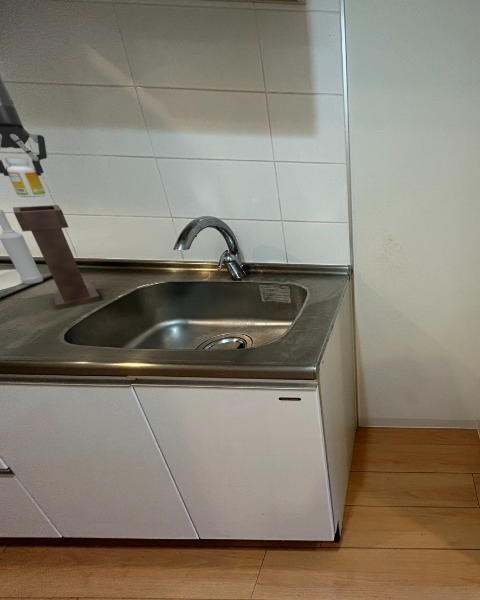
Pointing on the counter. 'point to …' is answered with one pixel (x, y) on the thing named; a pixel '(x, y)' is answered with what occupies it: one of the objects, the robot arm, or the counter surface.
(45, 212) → the holder
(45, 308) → the counter surface
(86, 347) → the counter surface
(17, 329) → the counter surface
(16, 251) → the bottle
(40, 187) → the supplement bottle
